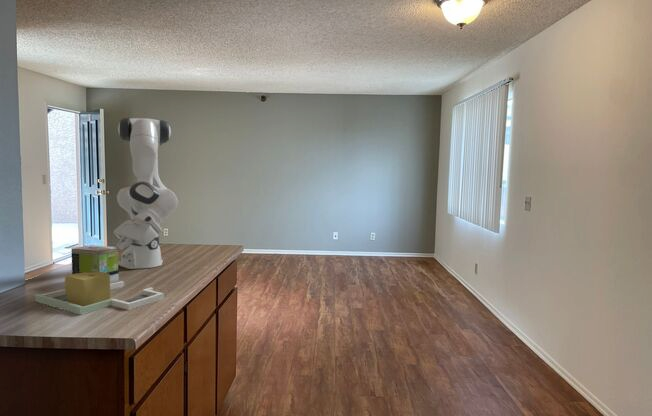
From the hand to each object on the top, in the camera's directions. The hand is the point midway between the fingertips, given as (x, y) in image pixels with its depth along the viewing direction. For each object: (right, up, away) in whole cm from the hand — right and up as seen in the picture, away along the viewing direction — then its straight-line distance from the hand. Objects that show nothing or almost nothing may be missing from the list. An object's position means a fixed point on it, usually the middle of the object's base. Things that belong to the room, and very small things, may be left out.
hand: (118, 248), depth 150 cm
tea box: (-19, -16, +18) cm, 30 cm away
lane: (-4, -18, -3) cm, 19 cm away
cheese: (-7, -19, -7) cm, 21 cm away
